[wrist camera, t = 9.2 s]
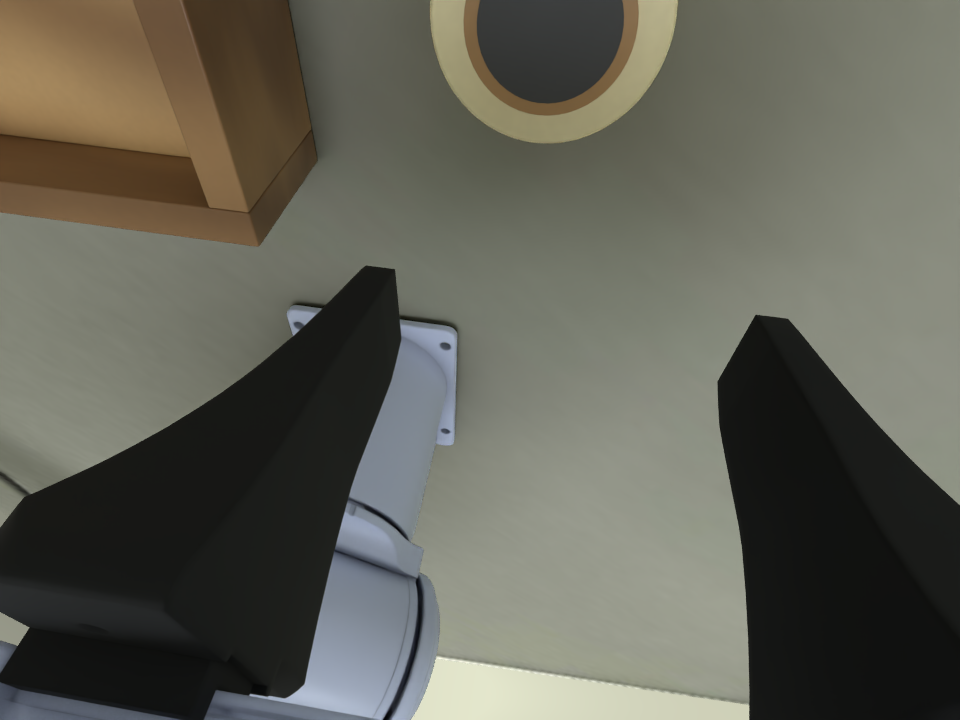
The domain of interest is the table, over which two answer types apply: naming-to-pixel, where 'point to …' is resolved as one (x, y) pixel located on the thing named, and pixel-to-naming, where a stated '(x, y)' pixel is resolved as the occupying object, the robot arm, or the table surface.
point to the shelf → (153, 115)
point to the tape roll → (551, 61)
